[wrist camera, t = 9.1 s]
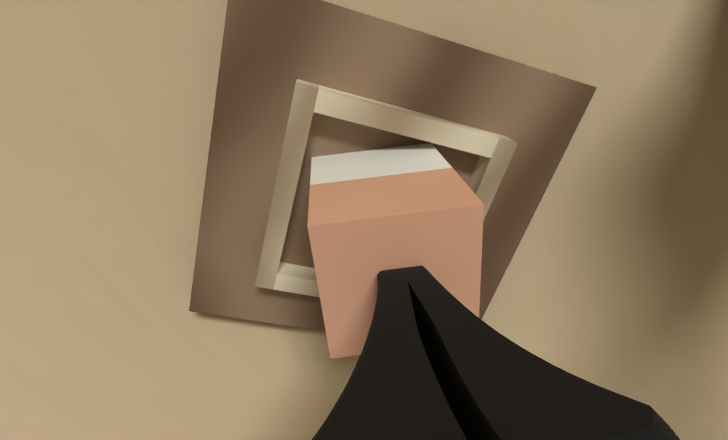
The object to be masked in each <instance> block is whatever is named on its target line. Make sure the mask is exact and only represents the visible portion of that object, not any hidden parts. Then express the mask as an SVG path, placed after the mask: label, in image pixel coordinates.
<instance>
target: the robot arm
mask: <svg viewBox="0 0 728 440" xmlns="http://www.w3.org/2000/svg"><path fill="white" fill-rule="evenodd" d="M377 280H378V293H377V301H376V305H375V310H374V315H373V319H372V323H371V326H370V329H369V332H368V336H367V339H366V342H365V344H364V347H363V350H362V352H361V355H360V357H359V360H358V362H357V364H356V367H355V369H354V371H353V373H352V375H351V377H350V379H349V381H348V383H347V385H346V387H345V389H344V391H343V392H342V394H341V396H340V398H339V399H338V401H337V403H336V404H335V406H334V407H333V409H332V411H331V412H330V414H329V416H328V417H327V419H326V420H325V422H324V423H323V425H322V426H321V428H320V429H319V431H318V432H317V433H316V435H315V436H314V437H313V439H312V440H680V439H679V437H678V436H677V435H676V434H675V433H674V431H673V430H672V429H671V428H670V427H669V425H668V424H667V423H666V422H665V421H664V420H663V419H662V418H661V417H660V416H659V415H658V414H657V413H656V412H655V411H654V410H653V409H652V408H651V406H649V405H646V404H644V403H641V402H638V401H636V400H633V399H630V398H628V397H625V396H623V395H620V394H617V393H615V392H612V391H610V390H607V389H604V388H602V387H599V386H597V385H595V384H592V383H590V382H588V381H586V380H584V379H581V378H579V377H577V376H575V375H572V374H570V373H568V372H566V371H564V370H562V369H560V368H558V367H556V366H554V365H552V364H550V363H548V362H547V361H545V360H543V359H541V358H539V357H537V356H536V355H534V354H532V353H530V352H528V351H527V350H525V349H523V348H522V347H520V346H518V345H517V344H515V343H514V342H512V341H511V340H509V339H507V338H506V337H504V336H503V335H501V334H500V333H498V332H497V331H495V330H494V329H493V328H491V327H490V326H489V325H487V324H486V323H485V322H483V321H482V320H481V319H480V318H478V317H477V316H476V315H475V314H473V313H472V312H471V311H470V310H469V309H467V308H466V307H465V306H464V305H463V304H462V303H461V302H460V301H458V300H457V299H456V298H455V297H454V296H453V295H452V294H451V293H450V292H449V291H448V290H447V289H446V288H444V287H443V286H442V285H441V284H440V283H439V282H438V281H437V280H436V279H435V277H434V276H433V275H432V274H431V273H430V272H429V271H428V270H427V269H426V268H425V267H423V266H422V265H421V266H414V267H406V268H398V269H390V270H382V271H380V272H379V273H378V274H377Z"/></svg>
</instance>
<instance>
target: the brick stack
mask: <svg viewBox="0 0 728 440" xmlns="http://www.w3.org/2000/svg"><path fill="white" fill-rule="evenodd" d="M483 214H484V204H483V202H482V201H481V200H480V199H479V198H478V197H477V196H476V194H475V193H474V192H473V191H472V190H471V189H470V187H469V186H468V185H467V184H466V183H465V182H464V181H463V179H462V178H461V177H460V176H459V175H458V174H457V172H456V171H455V170H454V169H453V168H452V167H451V166H450V164H449V163H448V162H447V161H446V160H445V159H444V157H443V156H442V155H441V154H440V153H439V152H438V150H437V149H436V148H435V147H434V146H433V145H432V144H431V143H426V144H418V145H409V146H401V147H392V148H384V149H376V150H367V151H359V152H350V153H342V154H334V155H325V156H317V157H312V159H311V175H310V191H309V208H308V224H307V227H308V233H309V239H310V244H311V250H312V256H313V262H314V267H315V273H316V279H317V284H318V290H319V296H320V301H321V307H322V313H323V318H324V324H325V330H326V336H327V341H328V347H329V353H330V358H331V359H334V358H342V357H349V356H356V355H361V352H362V350H363V347H364V344H365V342H366V339H367V336H368V332H369V329H370V326H371V323H372V319H373V315H374V310H375V305H376V301H377V293H378V280H377V274H378V273H379V272H380V271H382V270H390V269H398V268H406V267H414V266H421V265H422V266H423V267H425V268H426V269H427V270H428V271H429V272H430V273H431V274H432V275H433V276H434V277H435V279H436V280H437V281H438V282H439V283H440V284H441V285H442V286H443V287H444V288H446V289H447V290H448V291H449V292H450V293H451V294H452V295H453V296H454V297H455V298H456V299H457V300H458V301H460V302H461V303H462V304H463V305H464V306H465V307H466V308H467V309H469V310H470V311H471V312H472V313H473V314H475V315H476V316H477V317H478V318H479V307H480V284H481V261H482V237H483Z"/></svg>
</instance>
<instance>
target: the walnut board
mask: <svg viewBox="0 0 728 440" xmlns="http://www.w3.org/2000/svg"><path fill="white" fill-rule="evenodd" d="M595 90H596V87H593V86H590V85H587V84H584V83H581V82H577V81H574V80H571V79H568V78H565V77H562V76H558V75H555V74H552V73H549V72H546V71H543V70H540V69H536V68H533V67H530V66H527V65H524V64H521V63H517V62H514V61H511V60H508V59H505V58H502V57H498V56H495V55H492V54H489V53H486V52H483V51H480V50H476V49H473V48H470V47H467V46H464V45H461V44H457V43H454V42H451V41H448V40H445V39H442V38H439V37H435V36H432V35H429V34H426V33H423V32H420V31H416V30H413V29H410V28H407V27H404V26H401V25H398V24H394V23H391V22H388V21H385V20H382V19H379V18H375V17H372V16H369V15H366V14H363V13H360V12H356V11H353V10H350V9H347V8H344V7H341V6H338V5H334V4H331V3H328V2H325V1H322V0H228V4H227V12H226V20H225V28H224V36H223V44H222V52H221V60H220V68H219V76H218V84H217V92H216V100H215V108H214V116H213V124H212V132H211V140H210V148H209V156H208V164H207V172H206V180H205V188H204V196H203V204H202V212H201V220H200V228H199V236H198V244H197V252H196V260H195V268H194V276H193V284H192V292H191V300H190V308H189V311H192V312H199V313H205V314H212V315H219V316H225V317H232V318H239V319H245V320H252V321H258V322H265V323H272V324H278V325H285V326H292V327H298V328H305V329H311V330H318V331H325V332H326V330H325V324H324V318H323V313H322V307H321V301H320V296H319V290H318V284H317V279H316V273H315V267H314V262H313V256H312V250H311V244H310V239H309V233H308V227H307V224H308V208H309V191H310V175H311V159H312V157H317V156H325V155H334V154H342V153H350V152H359V151H367V150H376V149H384V148H392V147H401V146H409V145H418V144H426V143H431V144H432V145H433V146H434V147H435V148H436V149H437V150H438V152H439V153H440V154H441V155H442V156H443V157H444V159H445V160H446V161H447V162H448V163H449V164H450V166H451V167H452V168H453V169H454V170H455V171H456V172H457V174H458V175H459V176H460V177H461V178H462V179H463V181H464V182H465V183H466V184H467V185H468V186H469V187H470V189H471V190H472V191H473V192H474V193H475V194H476V196H477V197H478V198H479V199H480V200H481V201H482V202H483V204H484V214H483V237H482V261H481V284H480V307H479V318H480V319H482V317H483V315H484V313H485V311H486V309H487V307H488V305H489V303H490V301H491V299H492V297H493V295H494V293H495V291H496V289H497V287H498V285H499V283H500V281H501V279H502V277H503V275H504V273H505V271H506V269H507V267H508V265H509V263H510V261H511V259H512V257H513V255H514V253H515V251H516V249H517V247H518V245H519V243H520V241H521V239H522V237H523V235H524V233H525V231H526V229H527V227H528V225H529V223H530V221H531V219H532V217H533V215H534V213H535V211H536V209H537V207H538V205H539V203H540V201H541V199H542V197H543V195H544V193H545V191H546V189H547V187H548V185H549V183H550V181H551V179H552V177H553V175H554V173H555V171H556V169H557V167H558V165H559V163H560V161H561V159H562V157H563V155H564V153H565V151H566V149H567V147H568V144H569V142H570V140H571V138H572V136H573V134H574V132H575V130H576V128H577V126H578V124H579V122H580V120H581V118H582V116H583V114H584V112H585V110H586V108H587V106H588V104H589V102H590V100H591V98H592V96H593V94H594V92H595Z"/></svg>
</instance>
